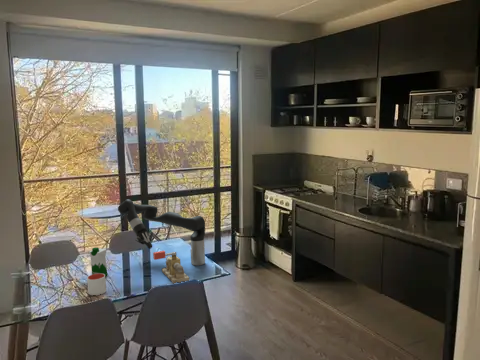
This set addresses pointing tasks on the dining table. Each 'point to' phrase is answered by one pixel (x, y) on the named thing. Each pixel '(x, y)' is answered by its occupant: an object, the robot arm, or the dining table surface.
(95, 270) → the milk carton
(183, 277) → the valve
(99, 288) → the cup
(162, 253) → the lever
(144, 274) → the dining table surface
